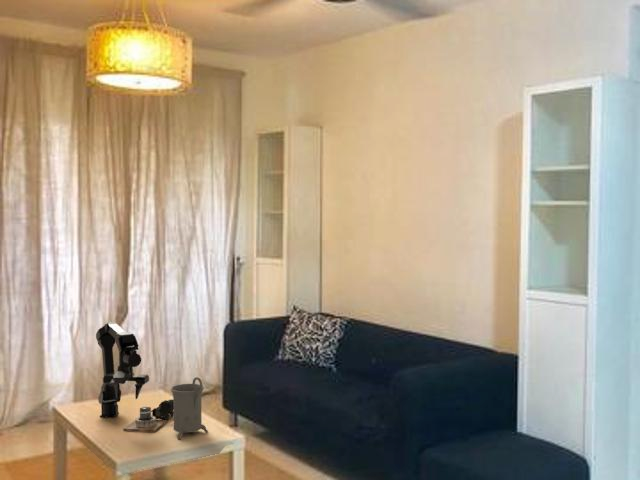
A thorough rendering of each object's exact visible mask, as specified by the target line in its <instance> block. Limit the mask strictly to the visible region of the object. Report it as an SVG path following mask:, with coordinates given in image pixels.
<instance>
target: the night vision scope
mask: <svg viewBox="0 0 640 480" xmlns="http://www.w3.org/2000/svg"><path fill="white" fill-rule="evenodd" d="M151 416H154V417H156V420H167V421H168V420H170V418H172V417H174V401H173V399H168V400H166V399H165V400H163V401H162V402H160V403H159V405H158V406H157V407H155V408H152V409H151Z"/></svg>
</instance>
